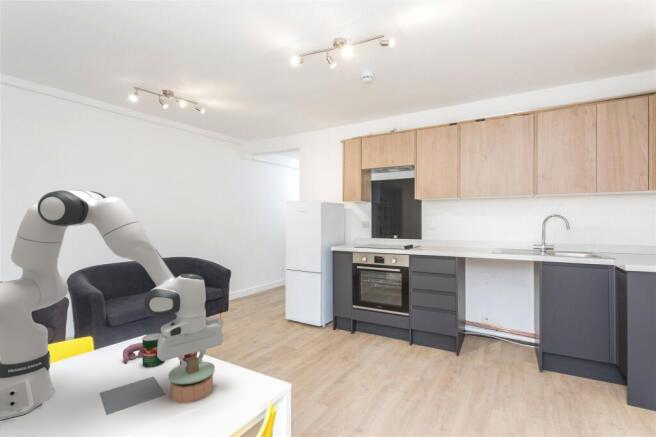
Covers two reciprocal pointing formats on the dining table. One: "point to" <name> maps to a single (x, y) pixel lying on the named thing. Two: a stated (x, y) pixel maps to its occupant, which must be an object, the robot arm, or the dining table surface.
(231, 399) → the dining table surface
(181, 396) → the bowl
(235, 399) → the dining table surface
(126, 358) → the video game controller
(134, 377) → the dining table surface
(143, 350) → the canned tomato
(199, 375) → the cover
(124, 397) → the mat
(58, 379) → the dining table surface
